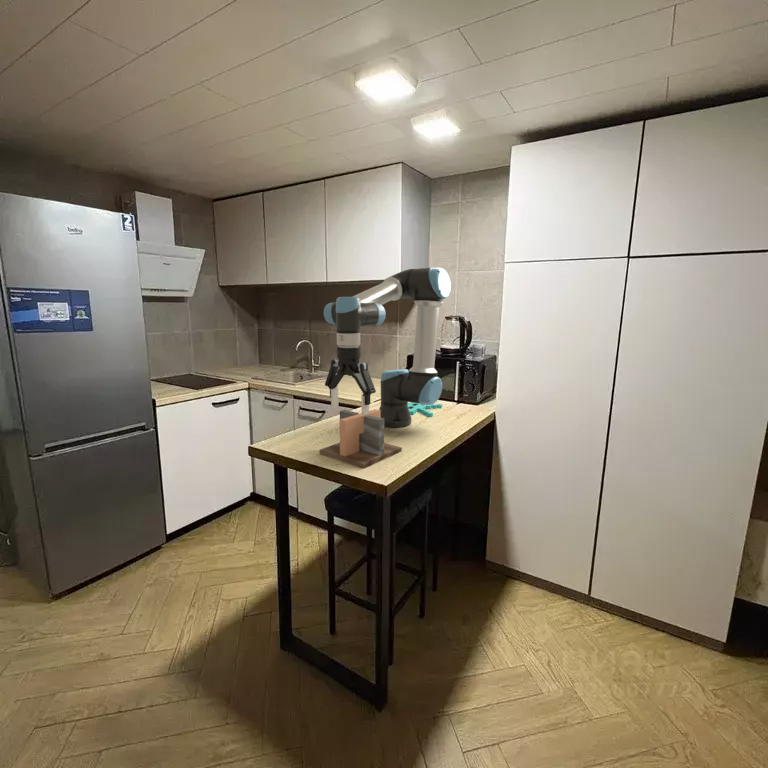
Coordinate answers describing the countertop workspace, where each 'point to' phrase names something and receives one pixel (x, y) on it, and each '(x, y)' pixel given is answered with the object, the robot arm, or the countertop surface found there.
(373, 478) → the countertop surface
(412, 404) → the alien figure
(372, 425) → the slotted stand
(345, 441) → the terracotta plate
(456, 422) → the countertop surface
